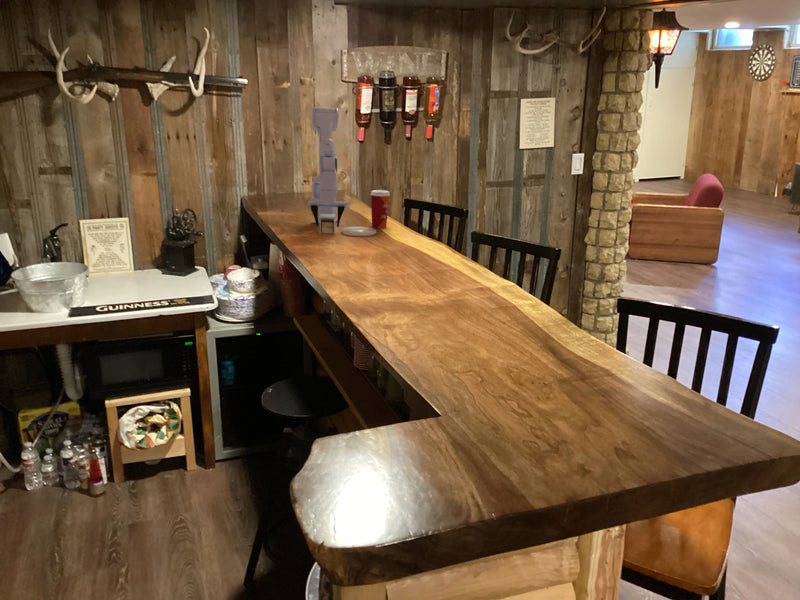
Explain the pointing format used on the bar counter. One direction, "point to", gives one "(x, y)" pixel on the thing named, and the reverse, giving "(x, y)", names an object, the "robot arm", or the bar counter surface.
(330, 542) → the bar counter surface
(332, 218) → the grey open box
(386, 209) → the paper cup
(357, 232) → the ceramic dish
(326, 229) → the maple block
